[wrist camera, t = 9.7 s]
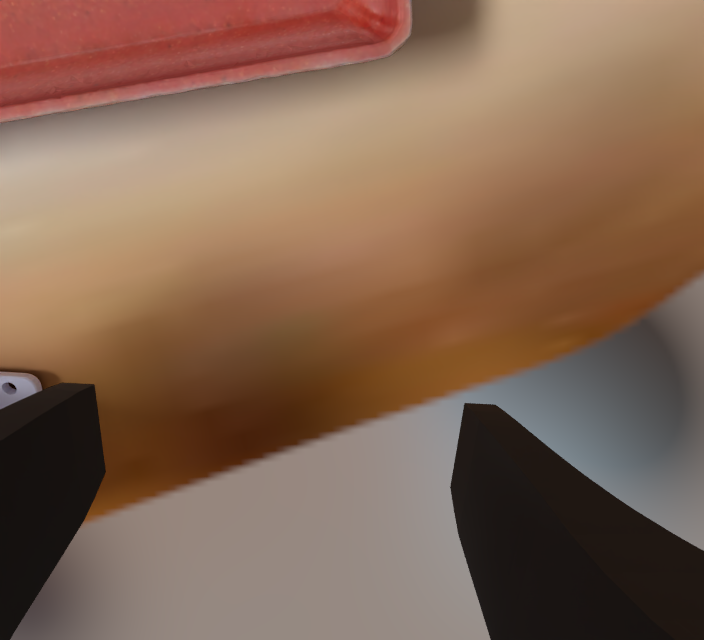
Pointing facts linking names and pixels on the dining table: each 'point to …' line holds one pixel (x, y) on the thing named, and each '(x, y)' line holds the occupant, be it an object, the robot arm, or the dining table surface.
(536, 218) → the dining table surface
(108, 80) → the plant saucer
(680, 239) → the dining table surface
